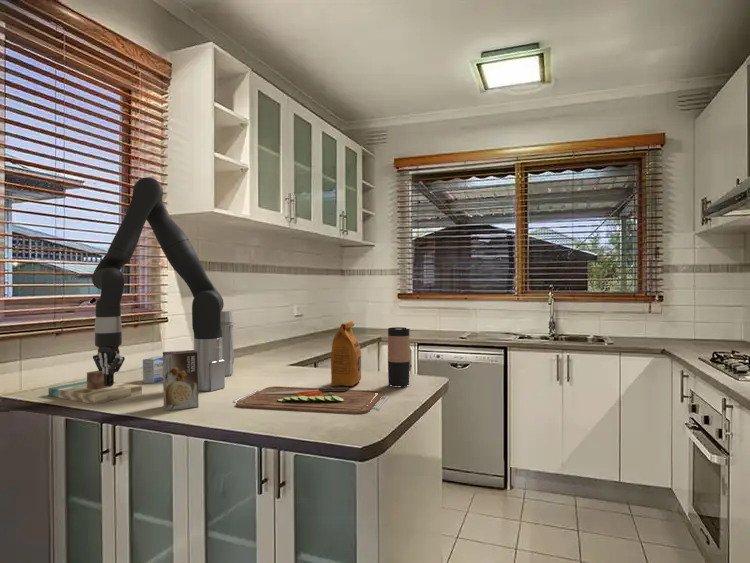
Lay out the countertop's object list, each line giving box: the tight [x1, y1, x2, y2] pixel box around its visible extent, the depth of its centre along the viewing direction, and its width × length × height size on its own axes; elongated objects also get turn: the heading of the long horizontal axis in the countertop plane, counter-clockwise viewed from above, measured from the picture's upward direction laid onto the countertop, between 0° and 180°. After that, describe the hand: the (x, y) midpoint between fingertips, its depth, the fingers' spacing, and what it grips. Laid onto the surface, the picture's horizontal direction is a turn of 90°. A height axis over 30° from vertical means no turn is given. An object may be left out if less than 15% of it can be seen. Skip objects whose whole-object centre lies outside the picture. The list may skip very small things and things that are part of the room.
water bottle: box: [221, 309, 236, 378], centre depth 198 cm, size 9×8×25 cm
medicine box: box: [142, 355, 163, 384], centre depth 187 cm, size 8×4×9 cm, turn 168°
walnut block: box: [86, 369, 111, 390], centre depth 164 cm, size 5×5×5 cm
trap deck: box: [47, 380, 143, 405], centre depth 165 cm, size 24×16×2 cm, turn 62°
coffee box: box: [162, 349, 200, 412], centre depth 149 cm, size 9×6×16 cm
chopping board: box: [232, 385, 390, 415], centre depth 157 cm, size 45×27×3 cm, turn 78°
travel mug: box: [387, 326, 411, 386], centre depth 179 cm, size 8×8×20 cm
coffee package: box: [330, 320, 362, 387], centre depth 181 cm, size 10×12×22 cm
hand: (108, 385), depth 162 cm, fingers closed
